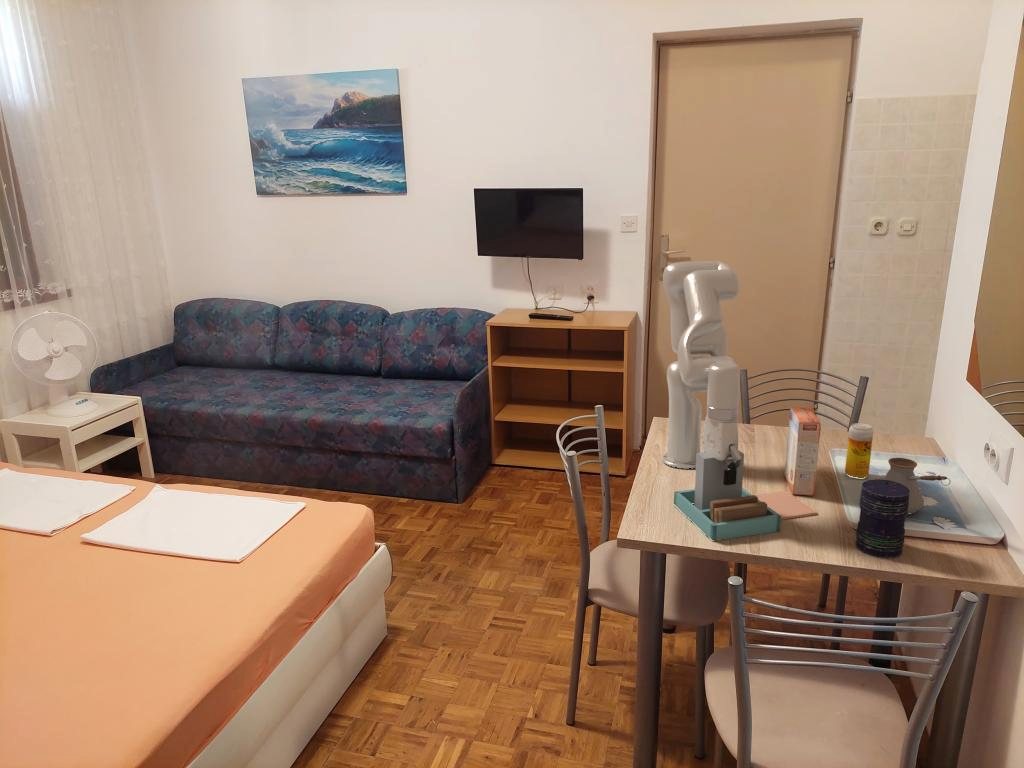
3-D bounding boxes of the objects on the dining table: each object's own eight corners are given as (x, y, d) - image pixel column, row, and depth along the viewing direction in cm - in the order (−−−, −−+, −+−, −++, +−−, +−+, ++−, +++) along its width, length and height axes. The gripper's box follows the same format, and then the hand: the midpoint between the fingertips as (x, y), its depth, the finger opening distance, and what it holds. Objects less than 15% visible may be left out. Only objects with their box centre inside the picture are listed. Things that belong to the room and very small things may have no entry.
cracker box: (815, 496, 195) (822, 422, 189) (791, 495, 196) (797, 421, 191) (806, 476, 208) (812, 406, 203) (784, 475, 209) (789, 405, 204)
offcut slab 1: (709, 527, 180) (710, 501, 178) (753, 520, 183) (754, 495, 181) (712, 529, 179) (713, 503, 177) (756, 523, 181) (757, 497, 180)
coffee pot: (862, 501, 191) (868, 447, 187) (903, 498, 193) (909, 444, 189) (916, 539, 171) (924, 480, 167) (961, 535, 172) (970, 476, 168)
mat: (741, 498, 195) (741, 496, 195) (784, 492, 198) (784, 490, 198) (771, 521, 182) (771, 519, 182) (817, 514, 185) (817, 512, 185)
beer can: (857, 482, 203) (862, 431, 199) (839, 474, 209) (844, 424, 205) (873, 478, 206) (878, 427, 202) (855, 470, 211) (860, 421, 207)
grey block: (694, 511, 189) (696, 453, 184) (732, 506, 191) (735, 448, 187) (701, 518, 185) (704, 458, 181) (740, 512, 187) (744, 453, 183)
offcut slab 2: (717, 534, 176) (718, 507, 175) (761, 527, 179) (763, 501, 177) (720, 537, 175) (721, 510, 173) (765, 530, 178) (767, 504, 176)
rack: (673, 505, 192) (674, 491, 191) (735, 497, 196) (736, 483, 195) (712, 541, 173) (712, 525, 172) (779, 531, 177) (781, 515, 176)
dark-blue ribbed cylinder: (901, 562, 161) (909, 500, 157) (853, 552, 166) (859, 492, 162) (903, 543, 169) (911, 483, 165) (857, 534, 174) (863, 476, 170)
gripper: (692, 405, 188) (690, 467, 192) (726, 424, 172) (723, 491, 176) (718, 402, 190) (716, 464, 194) (755, 420, 173) (751, 488, 178)
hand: (719, 477), depth 185 cm, fingers open, 9 cm apart
